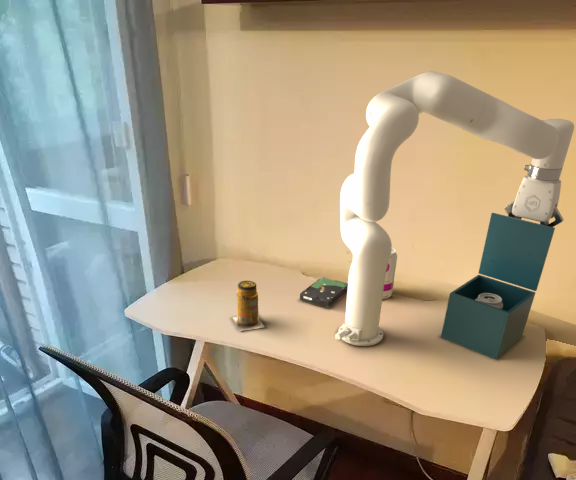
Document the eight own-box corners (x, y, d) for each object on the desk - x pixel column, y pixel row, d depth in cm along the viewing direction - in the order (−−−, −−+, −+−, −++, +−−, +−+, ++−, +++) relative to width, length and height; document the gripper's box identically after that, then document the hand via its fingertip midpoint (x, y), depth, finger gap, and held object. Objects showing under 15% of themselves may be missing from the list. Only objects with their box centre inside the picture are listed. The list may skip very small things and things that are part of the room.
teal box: (496, 359, 144) (509, 313, 136) (440, 337, 153) (449, 293, 145) (522, 336, 154) (535, 292, 146) (468, 317, 163) (478, 274, 155)
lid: (554, 228, 135) (564, 221, 139) (491, 213, 144) (502, 206, 148) (535, 291, 145) (545, 282, 149) (478, 273, 154) (488, 265, 158)
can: (493, 330, 155) (503, 292, 148) (495, 344, 149) (506, 304, 142) (466, 327, 156) (474, 289, 149) (467, 341, 150) (477, 302, 143)
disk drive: (328, 309, 166) (349, 291, 176) (329, 301, 164) (349, 283, 174) (299, 301, 170) (320, 283, 180) (299, 293, 168) (321, 275, 179)
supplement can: (385, 302, 170) (391, 257, 161) (361, 296, 173) (366, 251, 165) (395, 293, 175) (402, 248, 167) (372, 286, 179) (377, 243, 170)
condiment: (256, 314, 162) (255, 277, 155) (264, 327, 156) (264, 289, 149) (232, 318, 160) (230, 280, 153) (240, 331, 154) (238, 293, 147)
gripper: (505, 169, 140) (489, 237, 151) (574, 182, 131) (551, 253, 141) (517, 164, 145) (501, 230, 155) (584, 177, 135) (562, 246, 146)
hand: (525, 240), depth 148 cm, fingers closed on lid, 6 cm apart
